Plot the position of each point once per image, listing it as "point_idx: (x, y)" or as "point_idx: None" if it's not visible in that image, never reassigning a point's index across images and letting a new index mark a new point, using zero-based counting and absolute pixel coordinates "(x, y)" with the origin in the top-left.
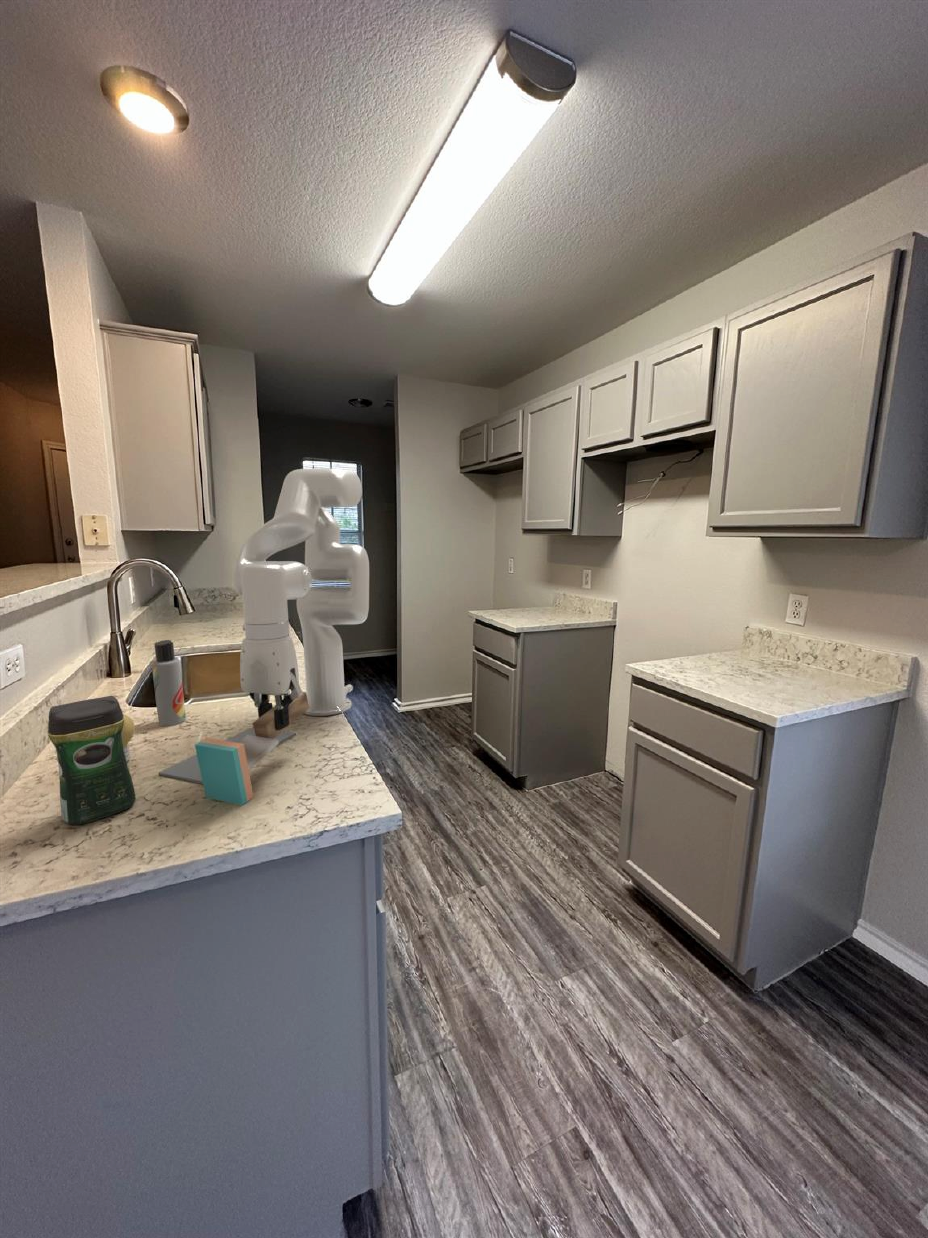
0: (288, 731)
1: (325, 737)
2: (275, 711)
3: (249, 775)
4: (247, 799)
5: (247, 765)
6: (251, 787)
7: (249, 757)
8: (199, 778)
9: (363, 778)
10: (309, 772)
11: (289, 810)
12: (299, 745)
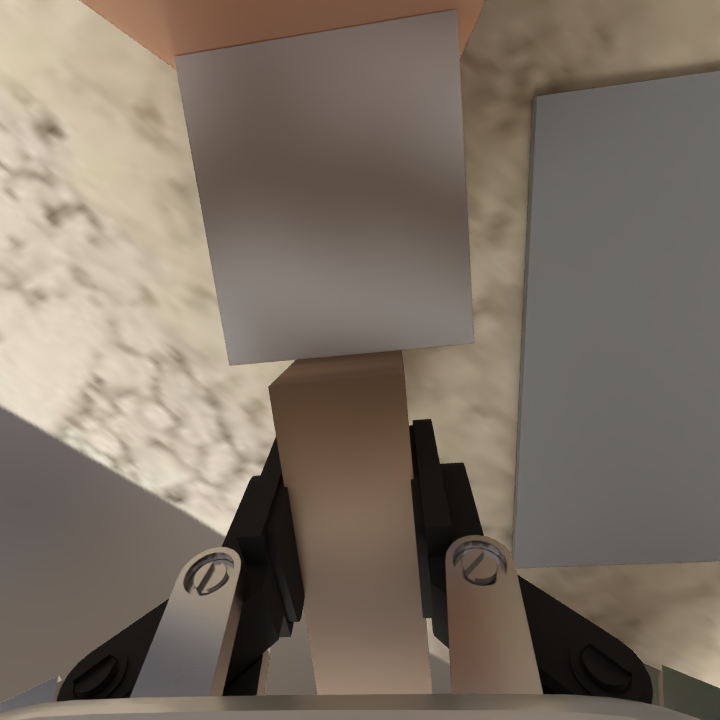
0: (550, 566)
1: None
2: (249, 528)
3: None
4: None
5: (148, 48)
6: None
7: (243, 147)
8: (615, 107)
9: (38, 408)
10: (228, 371)
11: (27, 110)
12: None
